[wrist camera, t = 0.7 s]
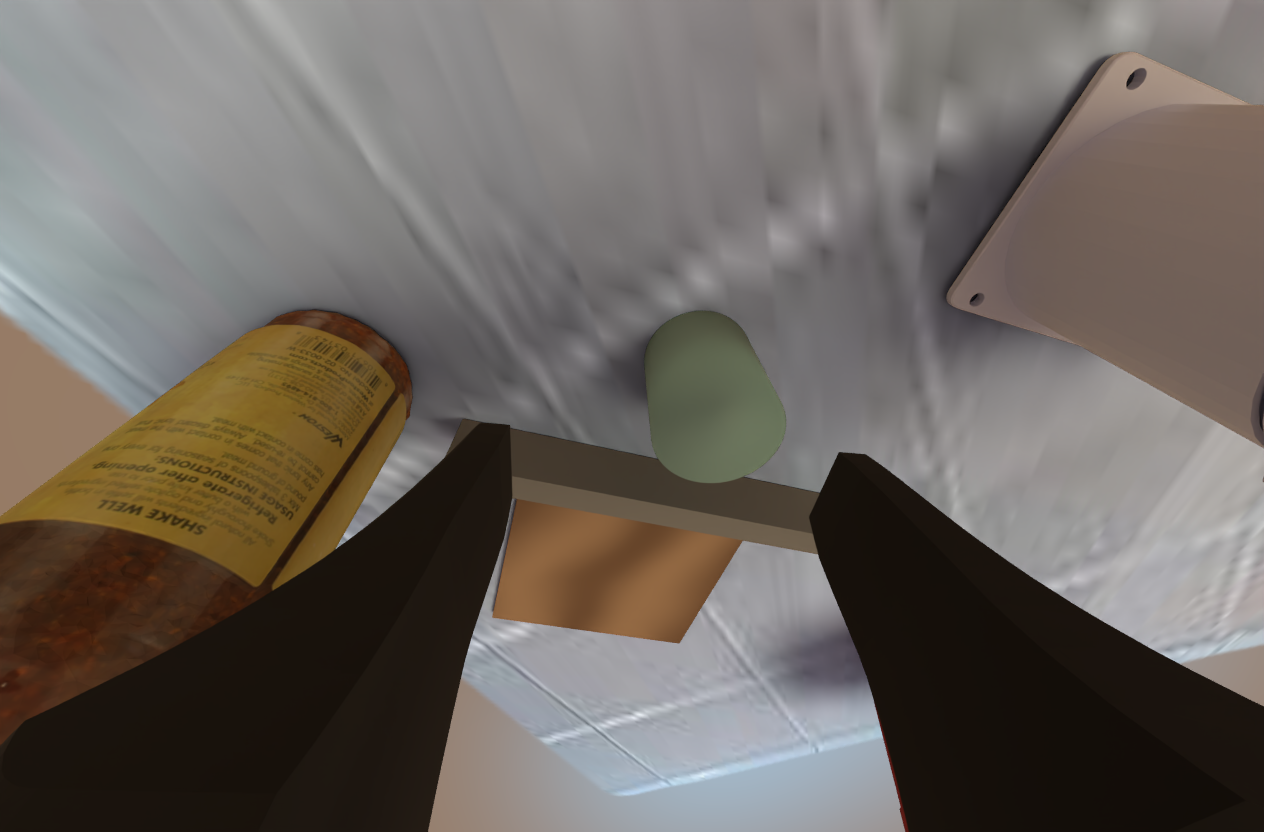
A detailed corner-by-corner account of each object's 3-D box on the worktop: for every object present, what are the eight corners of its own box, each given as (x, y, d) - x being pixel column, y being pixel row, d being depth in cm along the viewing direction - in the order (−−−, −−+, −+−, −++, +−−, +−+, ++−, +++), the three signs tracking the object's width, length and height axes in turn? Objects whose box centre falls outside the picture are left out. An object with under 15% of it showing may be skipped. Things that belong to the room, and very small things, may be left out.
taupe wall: (826, 494, 24) (849, 540, 22) (814, 510, 25) (836, 557, 22) (463, 418, 21) (442, 462, 18) (461, 439, 22) (440, 484, 19)
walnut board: (754, 512, 25) (756, 518, 24) (678, 637, 31) (679, 643, 31) (523, 467, 23) (522, 472, 22) (493, 611, 29) (492, 617, 29)
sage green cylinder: (768, 326, 19) (810, 392, 15) (726, 414, 21) (751, 493, 17) (663, 298, 18) (676, 359, 14) (631, 392, 20) (635, 469, 16)
